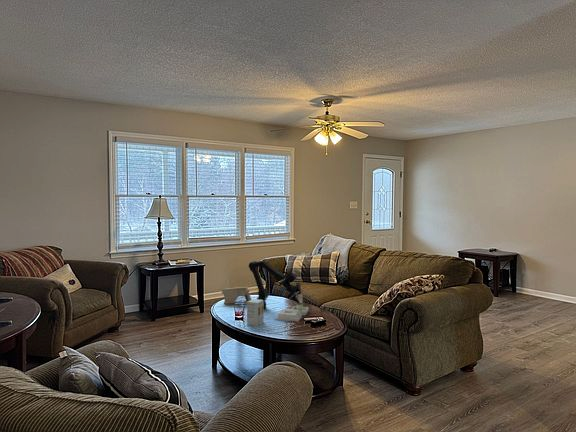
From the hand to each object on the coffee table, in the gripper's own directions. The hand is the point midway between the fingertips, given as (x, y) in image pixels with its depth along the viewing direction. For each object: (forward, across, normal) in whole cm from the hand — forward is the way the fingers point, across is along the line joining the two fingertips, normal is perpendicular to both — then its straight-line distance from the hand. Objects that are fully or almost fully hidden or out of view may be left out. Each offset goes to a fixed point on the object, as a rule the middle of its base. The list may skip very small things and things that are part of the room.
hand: (301, 301), depth 312 cm
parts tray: (+5, 0, +7) cm, 9 cm away
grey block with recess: (+3, -16, +10) cm, 19 cm away
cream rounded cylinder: (+5, 0, +7) cm, 8 cm away
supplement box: (-9, -37, +22) cm, 44 cm away
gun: (-36, +5, +49) cm, 61 cm away
